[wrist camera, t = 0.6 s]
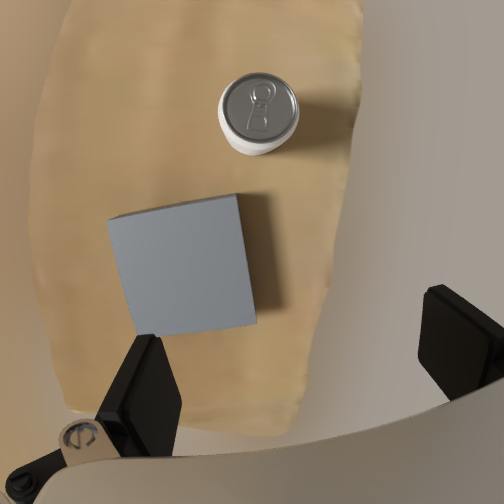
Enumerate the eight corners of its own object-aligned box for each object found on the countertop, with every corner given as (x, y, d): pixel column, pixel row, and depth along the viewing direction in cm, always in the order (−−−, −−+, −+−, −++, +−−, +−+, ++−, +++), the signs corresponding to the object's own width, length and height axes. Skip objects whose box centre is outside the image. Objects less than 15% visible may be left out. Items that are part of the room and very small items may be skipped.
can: (286, 104, 33) (308, 75, 21) (278, 159, 34) (297, 155, 23) (228, 96, 32) (222, 62, 21) (220, 152, 34) (210, 143, 22)
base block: (119, 215, 35) (106, 220, 31) (236, 193, 35) (235, 196, 31) (146, 323, 39) (138, 338, 35) (255, 308, 39) (257, 323, 35)
